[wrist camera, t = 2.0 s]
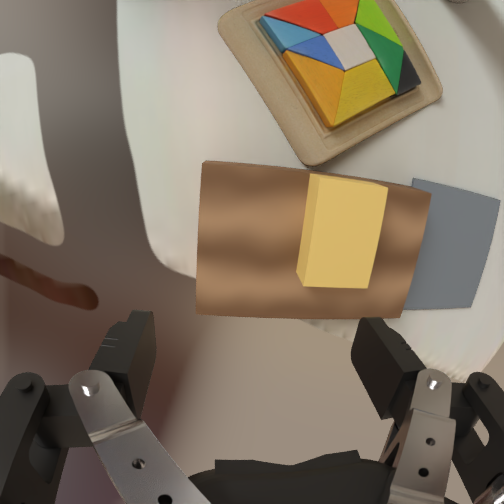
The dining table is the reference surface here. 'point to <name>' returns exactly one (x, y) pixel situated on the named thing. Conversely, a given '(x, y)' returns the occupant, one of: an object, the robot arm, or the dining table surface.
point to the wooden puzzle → (331, 68)
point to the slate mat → (451, 247)
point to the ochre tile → (340, 232)
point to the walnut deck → (292, 247)
